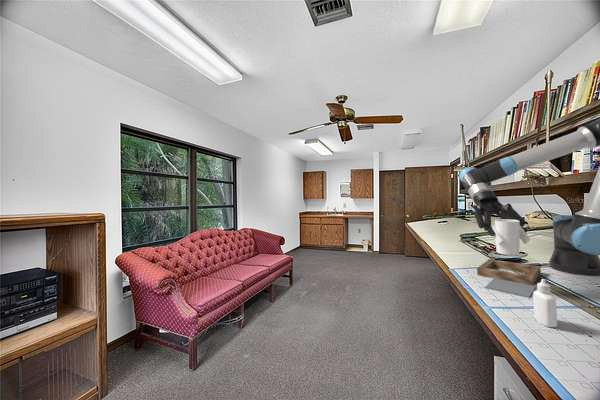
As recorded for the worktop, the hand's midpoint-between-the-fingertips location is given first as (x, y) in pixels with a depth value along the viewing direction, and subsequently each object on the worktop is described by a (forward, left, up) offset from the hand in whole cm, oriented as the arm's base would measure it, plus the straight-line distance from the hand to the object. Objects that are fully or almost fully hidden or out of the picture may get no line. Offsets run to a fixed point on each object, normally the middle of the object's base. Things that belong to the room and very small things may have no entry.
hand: (513, 242), depth 83 cm
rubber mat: (+2, -2, -18) cm, 18 cm away
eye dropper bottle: (-9, +19, -18) cm, 28 cm away
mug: (+2, -3, -5) cm, 6 cm away
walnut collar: (+6, -18, -18) cm, 26 cm away
